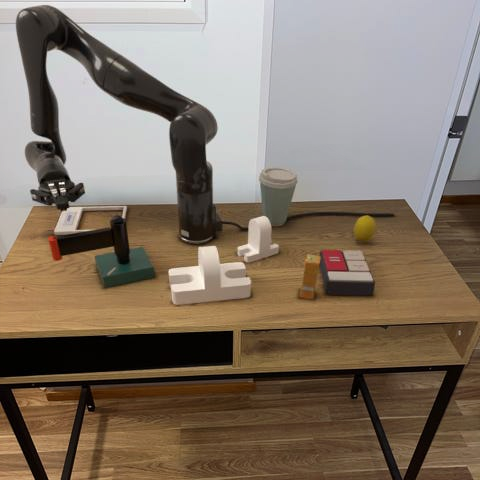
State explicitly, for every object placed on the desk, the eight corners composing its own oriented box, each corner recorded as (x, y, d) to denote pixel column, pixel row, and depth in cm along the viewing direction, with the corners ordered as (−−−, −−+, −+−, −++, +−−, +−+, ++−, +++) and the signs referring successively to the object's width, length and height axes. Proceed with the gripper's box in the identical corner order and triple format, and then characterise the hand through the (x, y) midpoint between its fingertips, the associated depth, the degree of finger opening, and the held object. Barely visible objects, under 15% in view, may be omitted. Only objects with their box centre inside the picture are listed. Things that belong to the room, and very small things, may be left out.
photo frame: (63, 206, 145) (126, 205, 146) (64, 210, 145) (126, 208, 147) (53, 231, 133) (121, 229, 135) (54, 234, 134) (122, 233, 136)
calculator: (363, 248, 125) (376, 280, 113) (360, 263, 128) (373, 295, 116) (319, 247, 125) (328, 278, 113) (317, 262, 128) (325, 294, 116)
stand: (143, 256, 127) (141, 239, 124) (154, 277, 120) (152, 259, 117) (96, 266, 123) (93, 248, 120) (104, 287, 116) (101, 269, 113)
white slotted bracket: (251, 297, 114) (253, 257, 108) (173, 305, 111) (170, 264, 105) (242, 274, 122) (244, 235, 115) (169, 281, 119) (165, 241, 112)
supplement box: (314, 300, 114) (319, 263, 108) (299, 298, 115) (304, 261, 108) (315, 292, 117) (321, 255, 110) (301, 290, 117) (305, 253, 111)
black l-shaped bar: (128, 247, 120) (123, 210, 114) (131, 255, 117) (126, 217, 111) (53, 261, 114) (44, 223, 108) (55, 269, 112) (46, 231, 106)
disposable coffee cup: (274, 209, 149) (278, 160, 140) (301, 222, 143) (307, 172, 134) (248, 220, 143) (251, 170, 134) (275, 234, 137) (279, 183, 128)
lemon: (349, 244, 134) (354, 217, 129) (354, 235, 138) (359, 209, 133) (370, 249, 133) (376, 222, 128) (374, 239, 137) (379, 213, 132)
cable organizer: (279, 252, 130) (282, 218, 124) (247, 263, 126) (248, 227, 119) (267, 243, 133) (270, 209, 127) (236, 253, 129) (237, 218, 123)
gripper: (22, 166, 121) (28, 196, 109) (77, 160, 125) (90, 187, 113) (29, 195, 126) (36, 226, 113) (82, 188, 130) (95, 217, 118)
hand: (63, 207), depth 113 cm, fingers closed
